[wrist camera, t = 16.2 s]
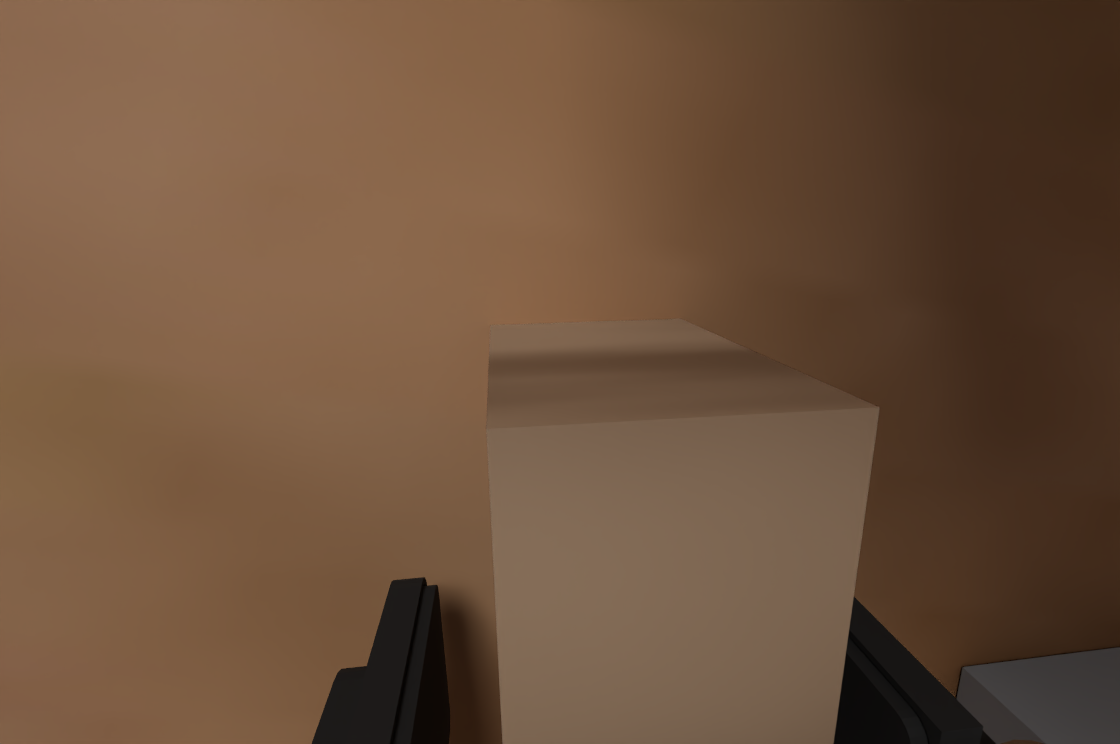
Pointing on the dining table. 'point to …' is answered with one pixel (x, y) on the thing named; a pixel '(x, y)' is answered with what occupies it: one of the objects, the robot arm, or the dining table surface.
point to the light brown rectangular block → (669, 536)
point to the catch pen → (1047, 698)
